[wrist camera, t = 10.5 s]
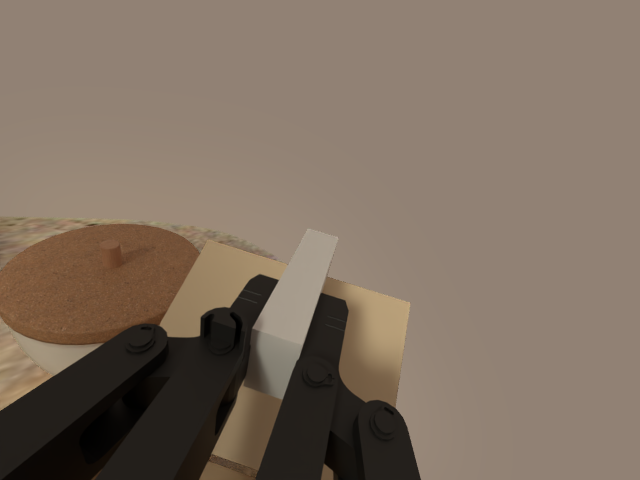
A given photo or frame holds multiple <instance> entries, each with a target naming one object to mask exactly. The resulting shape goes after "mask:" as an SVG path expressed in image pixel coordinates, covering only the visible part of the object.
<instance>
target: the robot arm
mask: <svg viewBox="0 0 640 480" xmlns="http://www.w3.org/2000/svg"><path fill="white" fill-rule="evenodd" d="M337 241H338V237H336V236H332V235H329V234H326V233H323V232H319V231H316V230H313V229H308V230H307V232H306V233H305V235H304V237H303V239H302V241H301V242H300V244H299V246H298V248H297V250H296V251H295V253H294V255H293V257H292V258H291V260H290V262H289V264H288V265H287V267H286V269H285V271H284V273H283V274H282V276H281V278H280V280H277V279H274V278H271V277H268V276H265V275H262V274H259V275H257V276H255V277H253V278H252V279H250V280H249V281H248V283H247V284H246V285H245V287H244V288H243V290H242V291H241V292H240V294H239V295H238V298H236V299H235V301H234V302H233V304H232V305H231V307H230V308H228V307H220V308H214V309H212V310H209V311H207V312H206V313H205V314H203V315H202V316H201V320H200V336H197V337H168V336H167V332H166V331H165V330H164V329H163V328H162V327H161V326H158V325H156V324H147V323H144V324H139V325H134V326H132V327H130V328H128V329H126V330H124V331H122V332H121V333H119V334H118V335H116V336H115V337H113V338H111V339H110V340H108V341H107V342H105V343H104V344H102V345H101V346H99V347H98V348H96V349H95V350H93V351H92V352H90V353H88V354H87V355H85V356H84V357H82V358H81V359H79V360H78V361H76V362H75V363H73V364H72V365H70V366H69V367H67V368H65V369H64V370H62V371H61V372H59V373H58V374H56V375H55V376H53V377H52V378H50V379H49V380H47V381H46V382H44V383H42V384H41V385H39V386H38V387H36V388H35V389H33V390H32V391H30V392H29V393H27V394H26V395H24V396H23V397H21V398H19V399H18V400H16V401H15V402H13V403H12V404H10V405H9V406H7V407H6V408H4V409H3V410H1V411H0V480H91V479H92V478H93V477H94V476H95V475H96V474H97V473H98V472H100V471H101V472H100V473H99V474H98V476H97V477H96V478H95V480H199V479H200V477H201V475H202V472H203V470H204V468H205V466H206V464H207V462H208V460H209V458H210V456H211V454H212V452H213V449H214V447H215V445H216V443H217V441H218V439H219V437H220V435H221V433H222V431H223V429H224V426H225V424H226V422H227V420H228V418H229V416H230V414H231V412H232V410H233V408H234V406H235V404H236V400H237V396H238V391H239V389H240V387H241V385H242V383H243V381H244V385H243V386H244V387H247V388H250V389H253V390H256V391H259V392H262V393H264V394H267V395H270V396H273V397H276V398H279V399H282V403H281V406H280V409H279V412H278V415H277V418H276V421H275V423H274V426H273V429H272V432H271V435H270V438H269V441H268V444H267V447H266V450H265V453H264V456H263V459H262V461H261V464H260V467H259V470H258V473H257V476H256V479H255V480H321V477H322V471H323V466H324V464H325V465H326V466H327V467H329V468H330V469H331V470H332V471H333V480H421V479H420V475H419V471H418V467H417V463H416V459H415V455H414V452H413V448H412V444H411V440H410V436H409V432H408V429H407V426H406V423H405V421H404V419H403V417H402V416H401V414H400V413H399V412H398V411H397V409H396V408H394V407H393V406H391V405H390V404H389V403H387V402H384V401H381V400H371V401H368V402H367V403H366V402H365V401H363V400H362V399H360V398H359V397H358V396H356V395H355V394H353V393H352V392H351V391H350V390H349V389H348V388H347V387H346V386H345V384H344V383H343V381H342V379H341V377H340V373H339V362H340V356H341V351H342V345H343V340H344V334H345V329H346V324H347V318H348V313H349V310H348V307H347V304H346V301H345V300H343V299H340V298H336V297H333V296H330V295H327V294H324V293H322V291H323V288H324V285H325V282H326V278H327V275H328V271H329V268H330V265H331V261H332V258H333V255H334V251H335V248H336V245H337Z"/></svg>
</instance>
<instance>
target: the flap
mask: <svg viewBox="0 0 640 480" xmlns="http://www.w3.org/2000/svg"><path fill="white" fill-rule="evenodd" d="M287 265H288V264H285V263H282V262H279V261H275V260H272V259H269V258H266V257H263V256H259V255H256V254H253V253H250V252H247V251H244V250H240V249H237V248H234V247H231V246H228V245H224V244H221V243H218V242H215V241H212V240H208V241H207V242H206V244H205V246H204V248H203V249H202V251H201V253H200V255H199V256H198V258H197V260H196V262H195V263H194V265H193V267H192V269H191V270H190V272H189V274H188V276H187V277H186V279H185V281H184V283H183V284H182V286H181V288H180V290H179V291H178V293H177V295H176V297H175V298H174V300H173V302H172V304H171V305H170V307H169V309H168V311H167V312H166V314H165V316H164V318H163V319H162V321H161V323H160V325H159V326H161V327H162V328H163V329H164V330H165V331H166V332H167V336H168V337H197V336H200V320H201V316H202V315H203V314H205V313H206V312H207V311H209V310H212V309H214V308H220V307H228V308H230V307H231V305H232V304H233V302H234V301H235V299H236V298H238V295H239V294H240V292H241V291H242V290H243V288H244V287H245V285H246V284H247V283H248V281H249V280H250V279H252V278H253V277H255V276H257V275H259V274H262V275H265V276H268V277H271V278H274V279H277V280H280V278H281V276H282V274H283V273H284V271H285V269H286V267H287ZM322 293H324V294H327V295H330V296H333V297H336V298H340V299H343V300H345V301H346V304H347V307H348V310H349V313H348V318H347V324H346V329H345V334H344V340H343V345H342V351H341V356H340V362H339V373H340V377H341V379H342V381H343V383H344V384H345V386H346V387H347V388H348V389H349V390H350V391H351V392H352V393H353V394H355V395H356V396H358V397H359V398H360V399H362V400H363V401H365V402H366V403H367V402H368V401H371V400H381V401H384V402H387V403H389V404H390V405H391V406H393V407H394V408H395V406H396V399H397V392H398V385H399V378H400V371H401V364H402V358H403V351H404V344H405V337H406V330H407V322H408V316H409V309H410V303H409V302H406V301H403V300H400V299H396V298H393V297H390V296H387V295H383V294H380V293H377V292H374V291H371V290H368V289H364V288H361V287H358V286H355V285H352V284H348V283H346V282H342V281H339V280H336V279H333V278H330V277H327V278H326V282H325V285H324V288H323V291H322ZM243 385H244V381H243V383H242V385H241V387H240V389H239V391H238V396H237V400H236V404H235V406H234V408H233V410H232V412H231V414H230V416H229V418H228V420H227V422H226V424H225V426H224V429H223V431H222V433H221V435H220V437H219V439H218V441H217V443H216V445H215V447H214V449H213V452H212V454H213V455H216V456H219V457H222V458H224V459H227V460H230V461H233V462H235V463H238V464H241V465H244V466H246V467H249V468H252V469H255V470H257V471H258V470H259V467H260V464H261V461H262V459H263V456H264V453H265V450H266V447H267V444H268V441H269V438H270V435H271V432H272V429H273V426H274V423H275V421H276V418H277V415H278V412H279V409H280V406H281V403H282V399H279V398H276V397H273V396H270V395H267V394H264V393H262V392H259V391H256V390H253V389H250V388H247V387H244V386H243ZM321 480H333V471H332V470H331V469H330V468H329V467H327V466H326V465H325V464H324V466H323V471H322V477H321Z"/></svg>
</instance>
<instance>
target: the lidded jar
mask: <svg viewBox="0 0 640 480" xmlns="http://www.w3.org/2000/svg"><path fill="white" fill-rule="evenodd" d="M199 255H200V253H199V251H198V250H197V249H196V248H195V247H194V245H193V244H192V243H190V242H189V241H188V240H186V239H185V238H183V237H181V236H180V235H178V234H176V233H173V232H170V231H168V230H164V229H161V228H157V227H151V226H145V225H136V224H110V225H100V226H93V227H86V228H81V229H77V230H73V231H69V232H65V233H62V234H59V235H55V236H53V237H50V238H48V239H45V240H43V241H41V242H39V243H37V244H35V245H33V246H30V247H29V248H27V249H26V250H24V251H23V252H21V253H20V254H18V255H17V256H16V257H14V258H13V259H12V260H11V261H9V262H8V263H7V265H6V266H5V267H4V268H3V270H2V271H1V272H0V316H1V317H2V319H3V320H4V322H5V323H6V324H7V325H8V327H9V329H10V331H11V333H12V335H13V337H14V338H15V340H16V342H17V343H18V345H19V346H20V348H21V349H22V350H23V352H24V353H25V354H26V355H27V357H29V358H30V359H31V360H32V361H33V362H34V363H35V364H37V365H38V366H39V367H40V368H41V369H42V370H43V371H45V372H47V373H49V374H51V375H53V376H55V375H56V374H58V373H59V372H61V371H62V370H64V369H65V368H67V367H69V366H70V365H72V364H73V363H75V362H76V361H78V360H79V359H81V358H82V357H84V356H85V355H87V354H88V353H90V352H92V351H93V350H95V349H96V348H98V347H99V346H101V345H102V344H104V343H105V342H107V341H108V340H110V339H111V338H113V337H115V336H116V335H118V334H119V333H121V332H122V331H124V330H126V329H128V328H130V327H132V326H134V325H139V324H144V323H147V324H156V325H158V326H159V325H160V323H161V321H162V319H163V318H164V316H165V314H166V312H167V311H168V309H169V307H170V305H171V304H172V302H173V300H174V298H175V297H176V295H177V293H178V291H179V290H180V288H181V286H182V284H183V283H184V281H185V279H186V277H187V276H188V274H189V272H190V270H191V269H192V267H193V265H194V263H195V262H196V260H197V258H198V256H199Z"/></svg>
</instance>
